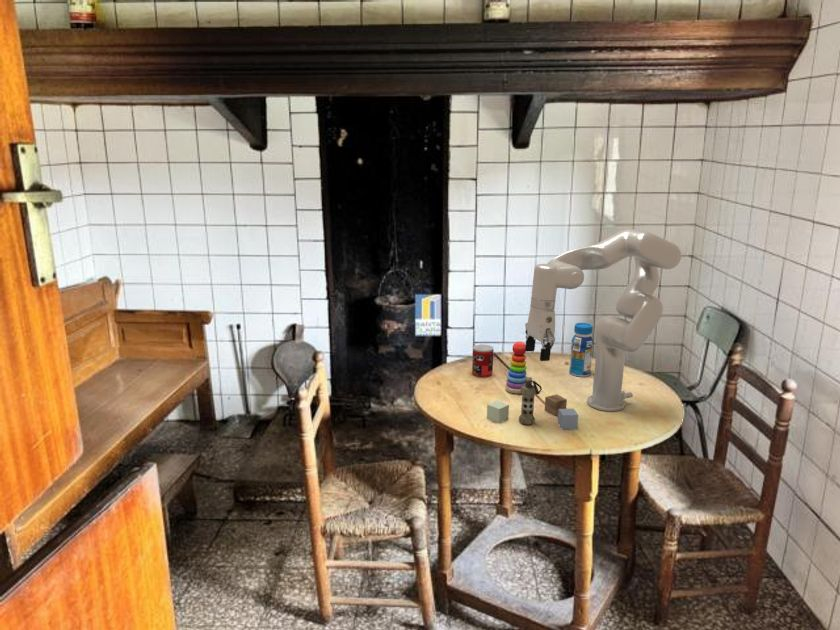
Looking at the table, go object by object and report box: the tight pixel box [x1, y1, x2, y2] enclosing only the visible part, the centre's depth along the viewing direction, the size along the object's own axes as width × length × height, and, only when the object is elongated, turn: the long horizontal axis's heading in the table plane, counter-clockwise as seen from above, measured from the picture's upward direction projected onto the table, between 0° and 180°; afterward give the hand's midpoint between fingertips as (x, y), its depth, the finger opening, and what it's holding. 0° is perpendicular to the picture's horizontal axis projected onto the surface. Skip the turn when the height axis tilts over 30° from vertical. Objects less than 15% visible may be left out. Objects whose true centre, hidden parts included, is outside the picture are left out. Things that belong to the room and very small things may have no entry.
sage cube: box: [486, 400, 510, 424], centre depth 209 cm, size 5×5×5 cm
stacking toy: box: [504, 341, 527, 395], centre depth 231 cm, size 8×8×19 cm
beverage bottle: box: [568, 322, 594, 378], centre depth 248 cm, size 8×8×20 cm
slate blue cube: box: [557, 408, 579, 430], centre depth 204 cm, size 5×5×5 cm
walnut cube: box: [544, 394, 568, 416], centre depth 215 cm, size 5×5×5 cm
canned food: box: [471, 344, 494, 378], centre depth 248 cm, size 8×8×11 cm
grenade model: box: [518, 376, 543, 426], centre depth 206 cm, size 6×7×15 cm
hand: (536, 355), depth 203 cm, fingers open, 9 cm apart
